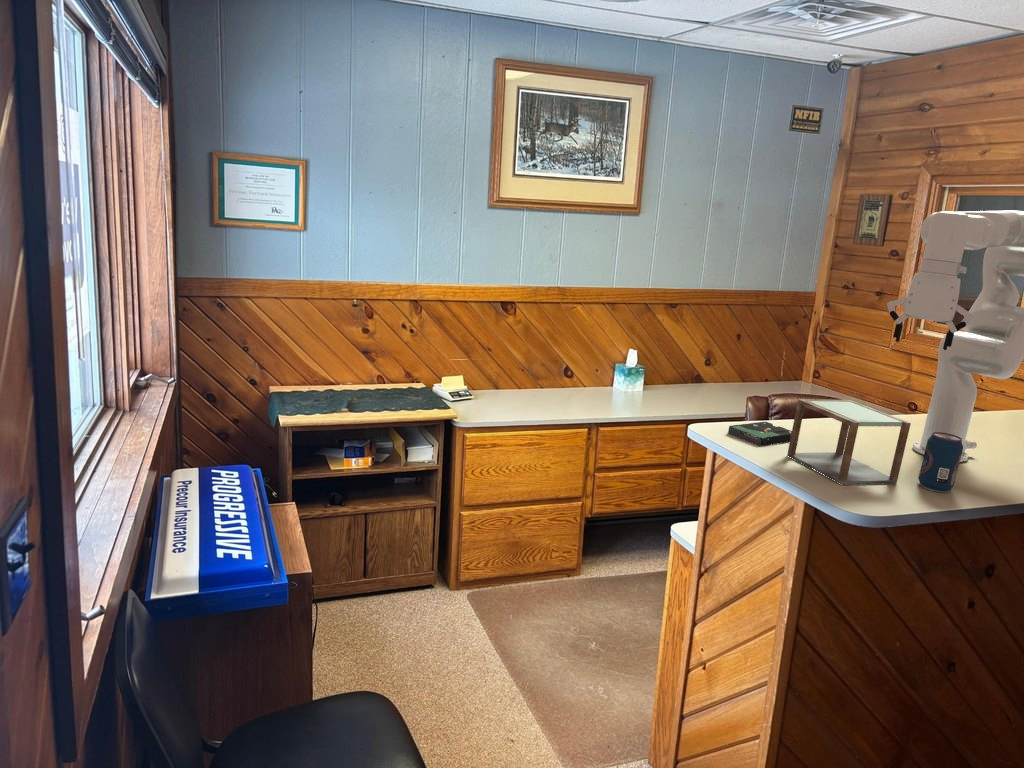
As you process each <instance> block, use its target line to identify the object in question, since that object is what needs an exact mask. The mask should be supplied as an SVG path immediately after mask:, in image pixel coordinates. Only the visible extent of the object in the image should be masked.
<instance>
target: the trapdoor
mask: <svg viewBox="0 0 1024 768" xmlns="http://www.w3.org/2000/svg"><path fill="white" fill-rule="evenodd" d="M808 402H810V403H813V404H815V405H818V406H820V407H822V408H825V409H827V410H830V411H832V412H834V413H837V414H839V415H842V416H844V417H846V418H849V419H851V420H854V421H856V422H858V423H859V426H858V427H901V426H902V422H901V421H899V420H896V419H893V418H891V417H888V416H886V415H883V414H880V413H878V412H875V411H873V410H870V409H868V408H865V407H862V406H860V405H857V404H855V403H852V402H838V401H808Z"/></svg>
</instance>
